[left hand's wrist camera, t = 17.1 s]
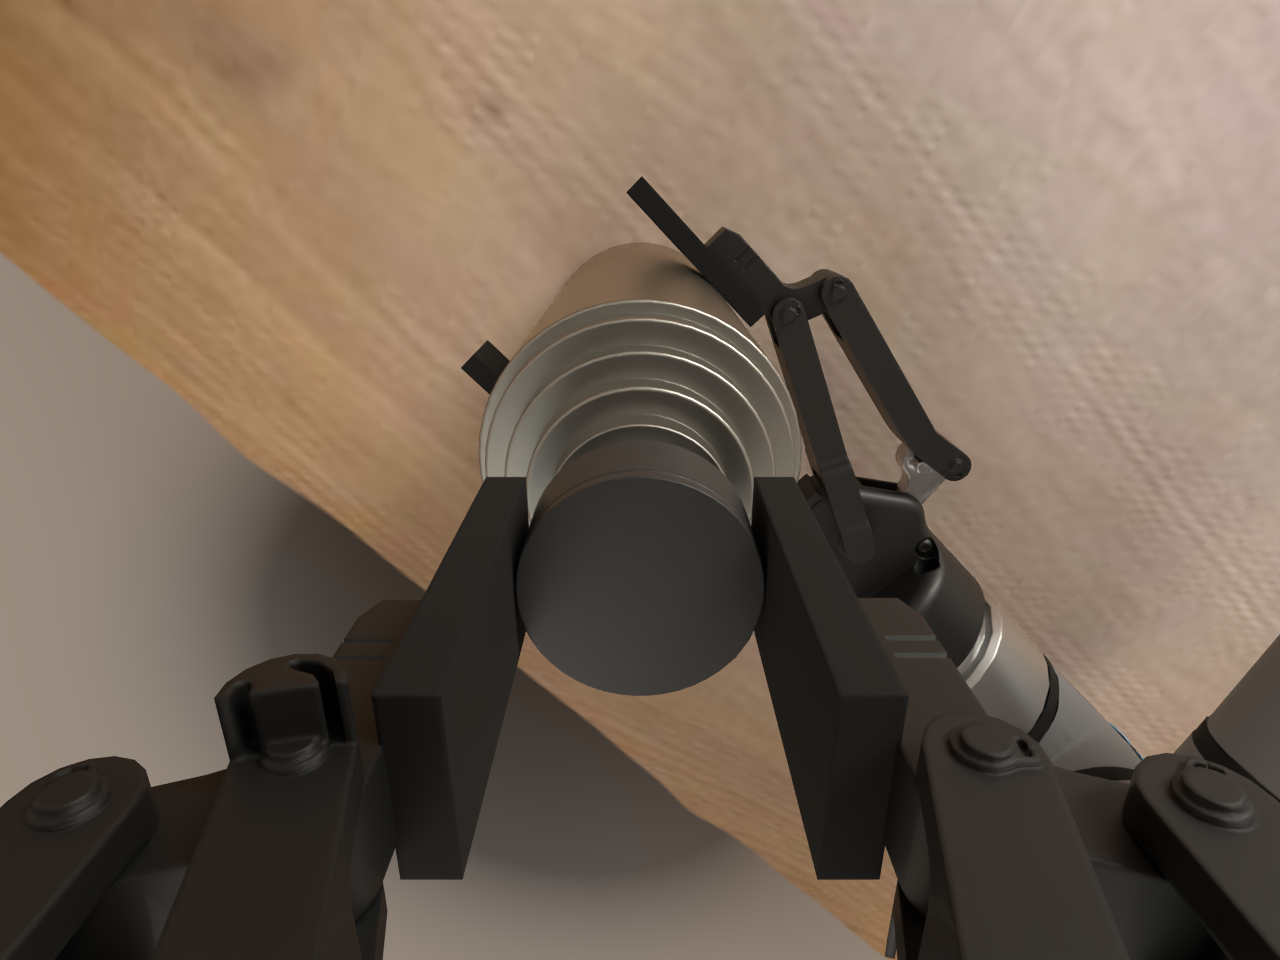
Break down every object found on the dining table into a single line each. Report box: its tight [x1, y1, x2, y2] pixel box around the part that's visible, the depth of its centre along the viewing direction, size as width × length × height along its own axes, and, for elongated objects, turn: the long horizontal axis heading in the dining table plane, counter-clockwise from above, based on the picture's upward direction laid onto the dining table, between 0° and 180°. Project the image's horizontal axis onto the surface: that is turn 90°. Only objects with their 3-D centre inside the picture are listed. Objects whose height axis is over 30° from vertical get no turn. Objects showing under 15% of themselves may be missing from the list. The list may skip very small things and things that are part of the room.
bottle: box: [479, 243, 802, 526], centre depth 24 cm, size 8×8×24 cm
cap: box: [515, 440, 765, 696], centre depth 14 cm, size 4×4×2 cm
